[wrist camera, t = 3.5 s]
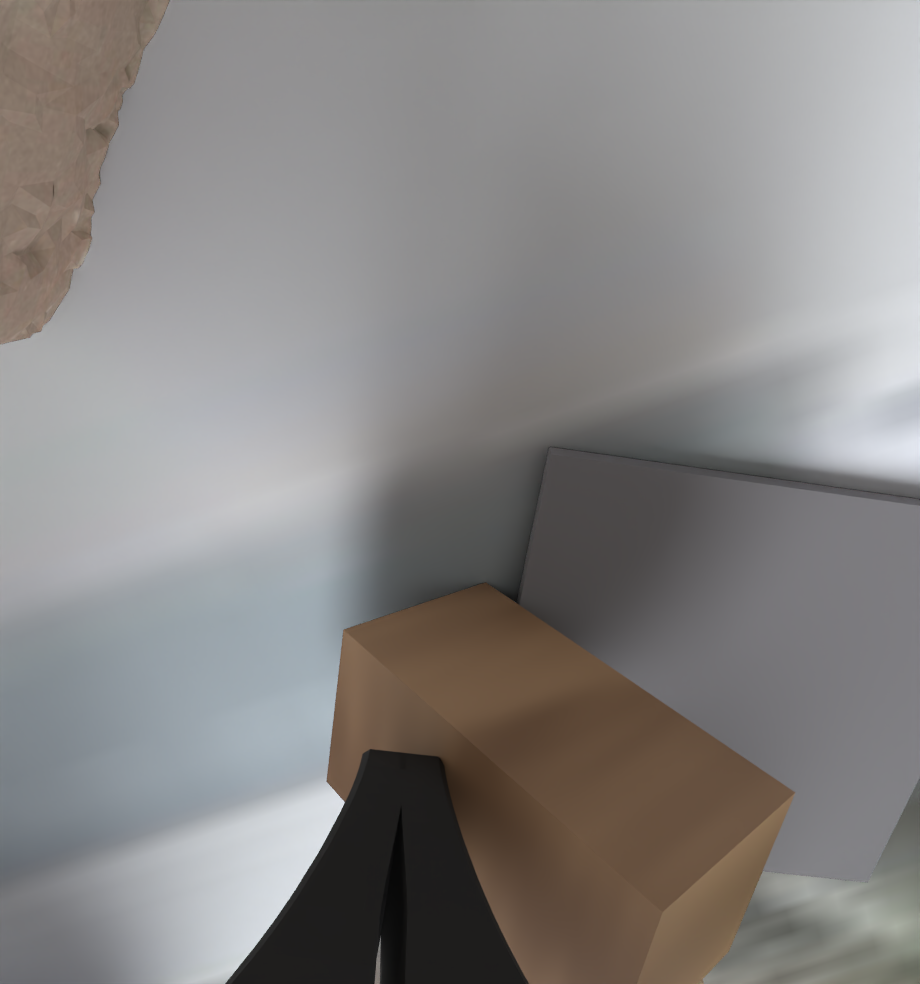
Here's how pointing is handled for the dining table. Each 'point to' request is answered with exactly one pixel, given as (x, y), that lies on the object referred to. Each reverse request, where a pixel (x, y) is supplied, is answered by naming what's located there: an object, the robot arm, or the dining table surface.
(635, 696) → the walnut block
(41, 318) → the brick
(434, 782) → the robot arm
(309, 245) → the dining table surface
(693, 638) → the mat
